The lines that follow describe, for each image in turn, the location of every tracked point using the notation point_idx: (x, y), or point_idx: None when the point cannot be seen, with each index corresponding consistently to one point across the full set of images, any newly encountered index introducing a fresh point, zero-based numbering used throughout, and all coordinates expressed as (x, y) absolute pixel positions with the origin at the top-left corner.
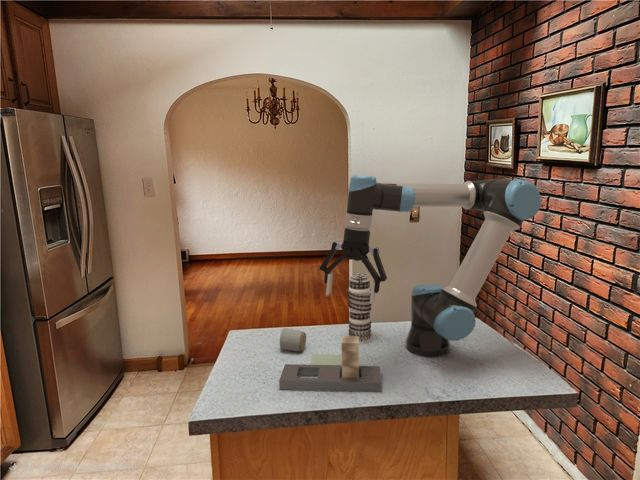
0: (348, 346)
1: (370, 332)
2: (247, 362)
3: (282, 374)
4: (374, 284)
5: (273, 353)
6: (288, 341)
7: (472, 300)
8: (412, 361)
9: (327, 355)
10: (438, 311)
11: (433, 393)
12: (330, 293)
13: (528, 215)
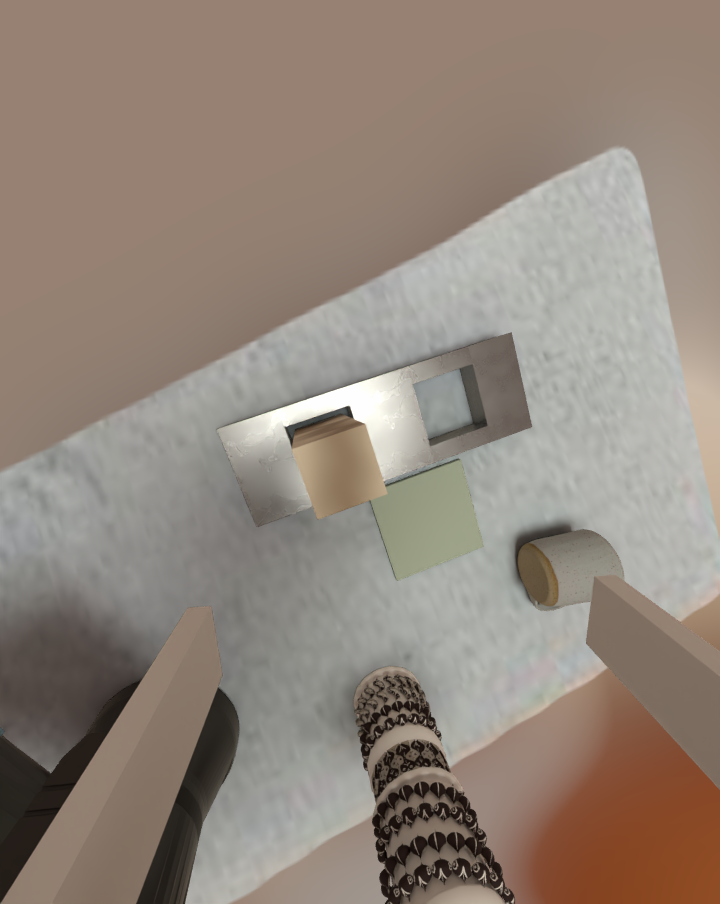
0: (334, 432)
1: (357, 723)
2: (629, 438)
3: (515, 367)
4: (27, 861)
5: (585, 511)
6: (575, 542)
7: None
8: None
9: (441, 556)
10: None
11: (70, 477)
12: (588, 632)
13: None
